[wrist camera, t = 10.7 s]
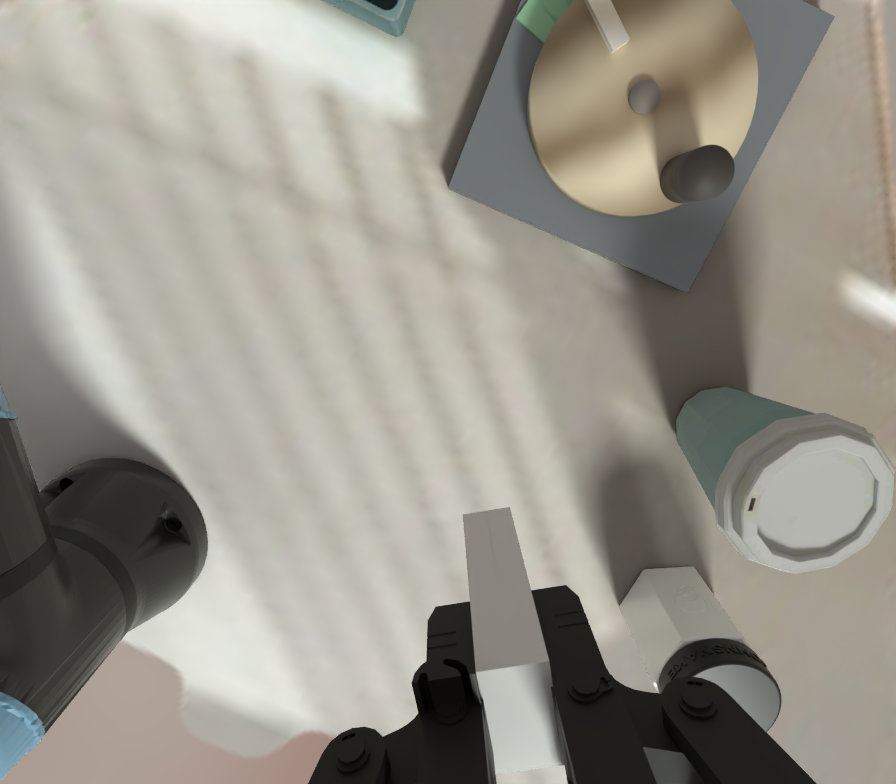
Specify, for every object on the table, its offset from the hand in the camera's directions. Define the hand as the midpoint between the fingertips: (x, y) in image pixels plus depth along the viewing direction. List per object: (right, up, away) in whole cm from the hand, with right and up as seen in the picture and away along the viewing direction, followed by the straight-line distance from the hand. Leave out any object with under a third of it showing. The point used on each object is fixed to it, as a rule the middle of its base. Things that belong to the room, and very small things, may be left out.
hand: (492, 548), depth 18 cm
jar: (+19, -15, +34) cm, 42 cm away
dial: (+11, +26, +21) cm, 35 cm away
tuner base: (+12, +26, +23) cm, 36 cm away
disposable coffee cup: (+21, +2, +30) cm, 36 cm away
